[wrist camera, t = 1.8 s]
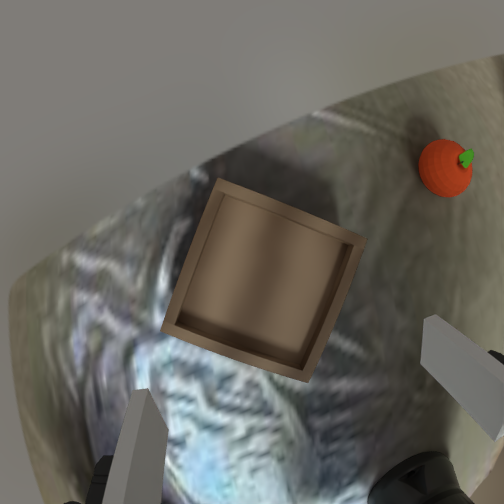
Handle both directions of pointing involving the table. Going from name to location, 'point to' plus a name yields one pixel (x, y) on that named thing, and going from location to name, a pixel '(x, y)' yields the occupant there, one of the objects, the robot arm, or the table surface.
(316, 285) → the walnut tray
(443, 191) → the clementine
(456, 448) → the table surface
